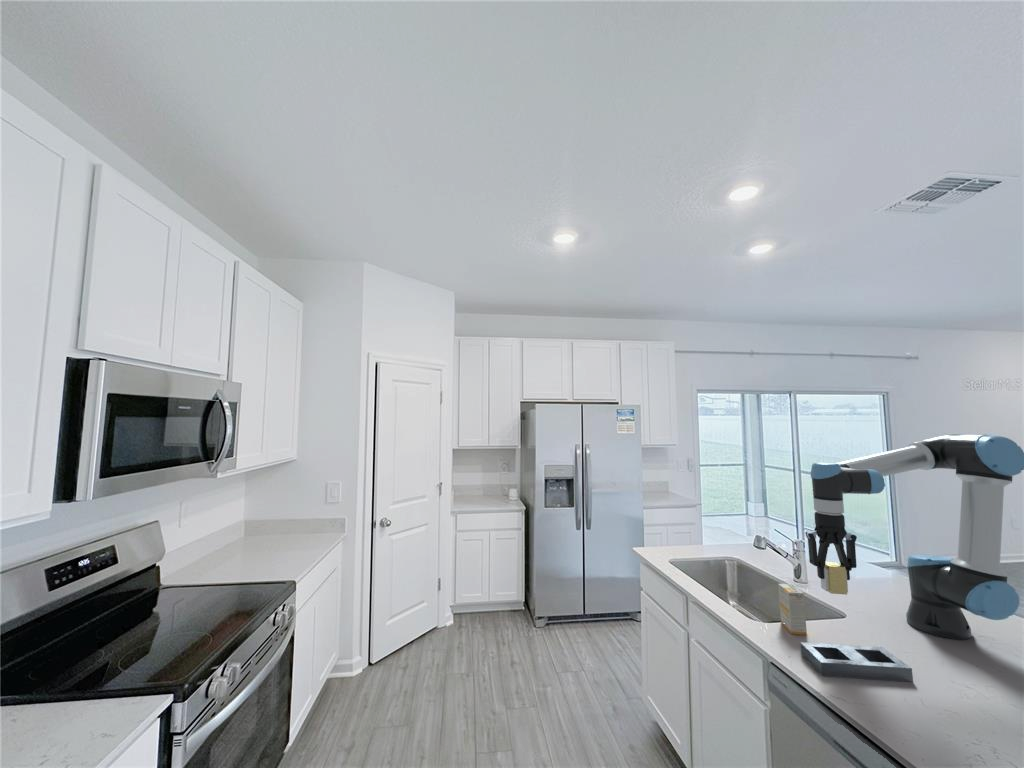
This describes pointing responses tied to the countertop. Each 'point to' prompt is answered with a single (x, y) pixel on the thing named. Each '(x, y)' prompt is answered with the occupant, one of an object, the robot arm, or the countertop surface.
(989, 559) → the robot arm
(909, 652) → the countertop surface
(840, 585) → the brass block
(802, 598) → the supplement box
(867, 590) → the countertop surface
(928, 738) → the countertop surface
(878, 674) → the grey flat slotted block
